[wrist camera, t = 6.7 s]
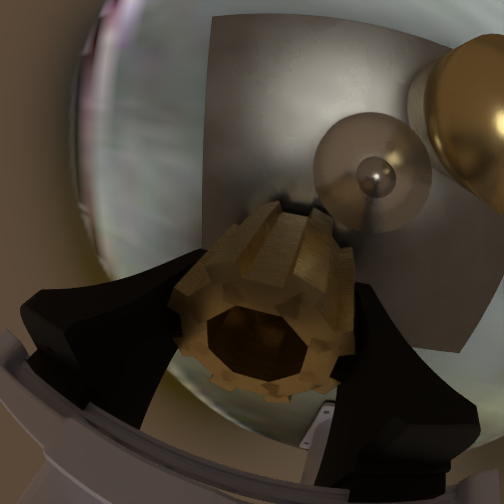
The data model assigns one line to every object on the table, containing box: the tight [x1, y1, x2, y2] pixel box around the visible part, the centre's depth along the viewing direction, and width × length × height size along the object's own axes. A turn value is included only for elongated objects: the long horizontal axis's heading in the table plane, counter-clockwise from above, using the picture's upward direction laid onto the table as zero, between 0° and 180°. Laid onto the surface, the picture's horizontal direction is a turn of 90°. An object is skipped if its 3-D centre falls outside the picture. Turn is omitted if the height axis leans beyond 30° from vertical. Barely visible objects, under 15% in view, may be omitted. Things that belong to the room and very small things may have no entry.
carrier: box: [202, 14, 504, 353], centre depth 9 cm, size 15×16×6 cm
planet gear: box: [167, 201, 356, 403], centre depth 10 cm, size 6×6×5 cm
